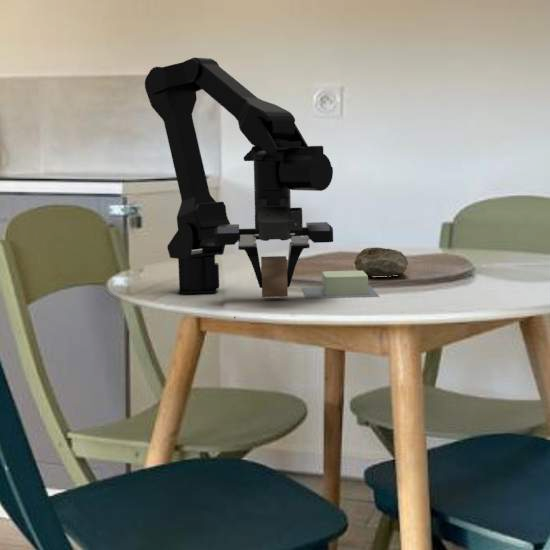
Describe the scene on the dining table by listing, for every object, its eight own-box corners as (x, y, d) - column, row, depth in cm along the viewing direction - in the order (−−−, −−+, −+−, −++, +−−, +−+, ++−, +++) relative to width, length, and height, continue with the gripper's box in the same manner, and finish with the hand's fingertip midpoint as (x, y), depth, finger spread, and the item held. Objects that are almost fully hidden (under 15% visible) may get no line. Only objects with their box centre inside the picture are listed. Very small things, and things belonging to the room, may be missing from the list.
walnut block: (262, 297, 148) (261, 259, 147) (262, 293, 152) (261, 256, 151) (287, 296, 148) (286, 259, 148) (286, 292, 152) (285, 256, 151)
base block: (325, 295, 153) (325, 277, 153) (322, 288, 160) (322, 271, 160) (368, 294, 153) (368, 276, 153) (363, 287, 160) (362, 270, 160)
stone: (420, 271, 168) (393, 237, 167) (387, 299, 168) (359, 266, 167) (402, 264, 181) (376, 232, 180) (371, 290, 181) (345, 259, 179)
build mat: (305, 301, 151) (305, 298, 151) (301, 289, 163) (301, 287, 162) (379, 298, 151) (379, 296, 151) (369, 287, 163) (369, 285, 163)
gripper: (211, 193, 140) (214, 296, 142) (335, 191, 140) (337, 293, 142) (214, 190, 151) (217, 285, 153) (329, 187, 151) (330, 282, 153)
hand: (274, 287), depth 150 cm, fingers closed on walnut block, 4 cm apart
